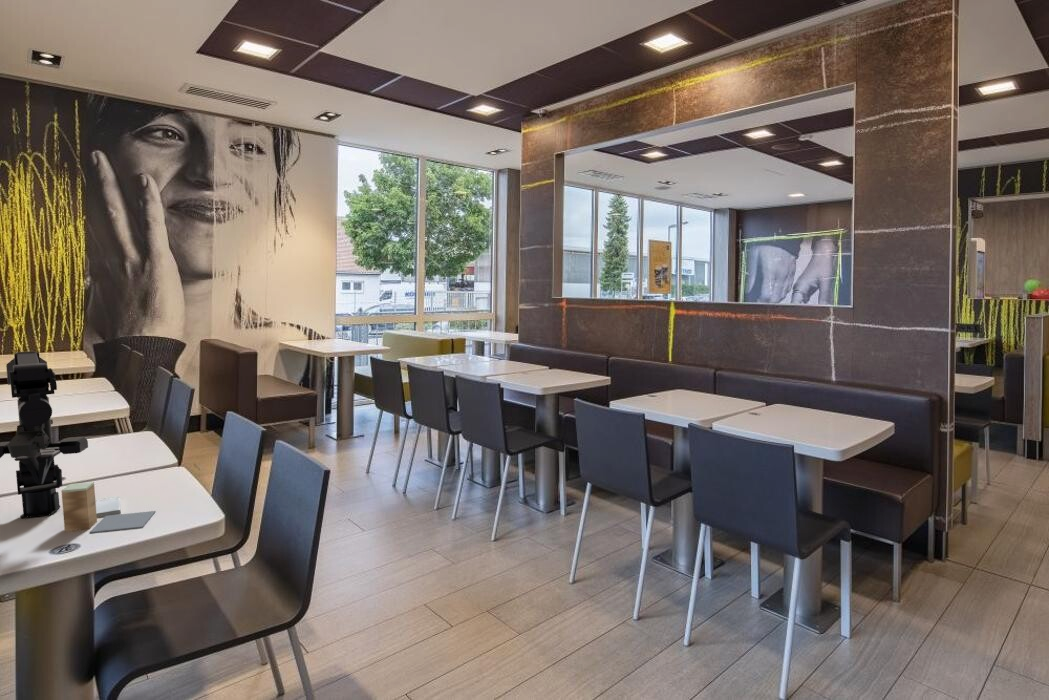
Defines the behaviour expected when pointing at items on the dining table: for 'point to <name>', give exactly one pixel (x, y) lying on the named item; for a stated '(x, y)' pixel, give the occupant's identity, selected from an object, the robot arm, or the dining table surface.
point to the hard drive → (108, 507)
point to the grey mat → (123, 522)
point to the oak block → (79, 506)
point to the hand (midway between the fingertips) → (40, 483)
